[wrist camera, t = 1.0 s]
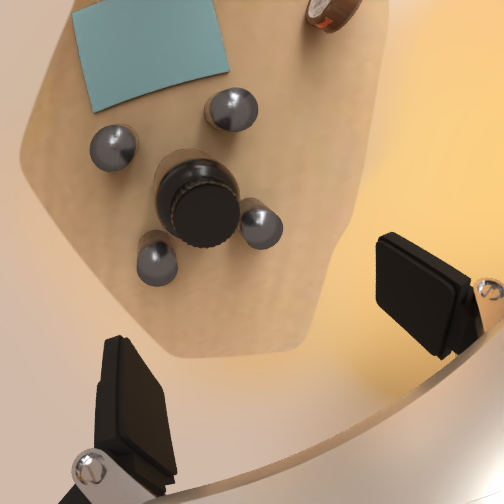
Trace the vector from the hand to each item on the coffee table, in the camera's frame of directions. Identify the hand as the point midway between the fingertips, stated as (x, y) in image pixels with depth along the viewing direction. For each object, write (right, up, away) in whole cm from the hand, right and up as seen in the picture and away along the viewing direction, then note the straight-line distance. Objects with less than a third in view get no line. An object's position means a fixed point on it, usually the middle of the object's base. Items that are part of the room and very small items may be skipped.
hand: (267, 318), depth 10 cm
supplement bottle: (-7, +10, +20) cm, 24 cm away
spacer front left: (-14, +13, +16) cm, 25 cm away
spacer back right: (-1, +6, +24) cm, 25 cm away
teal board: (-11, +23, +12) cm, 28 cm away
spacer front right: (-3, +17, +18) cm, 25 cm away
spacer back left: (-11, +3, +22) cm, 25 cm away
